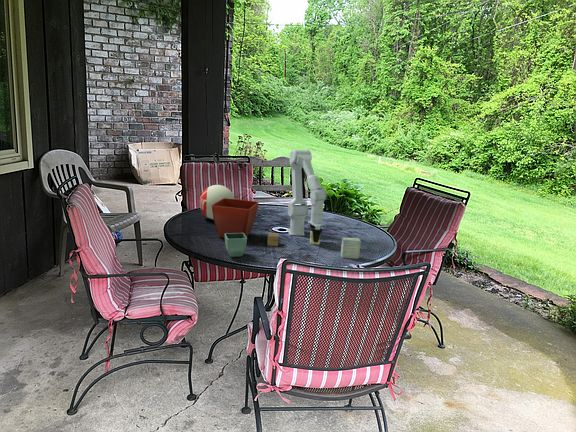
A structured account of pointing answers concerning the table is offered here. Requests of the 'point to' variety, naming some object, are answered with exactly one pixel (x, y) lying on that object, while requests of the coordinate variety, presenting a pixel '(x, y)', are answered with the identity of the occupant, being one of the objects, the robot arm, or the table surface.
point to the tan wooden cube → (272, 239)
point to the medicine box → (350, 248)
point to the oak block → (312, 239)
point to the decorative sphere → (213, 198)
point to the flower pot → (235, 243)
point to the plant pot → (234, 216)
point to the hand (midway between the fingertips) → (314, 240)
